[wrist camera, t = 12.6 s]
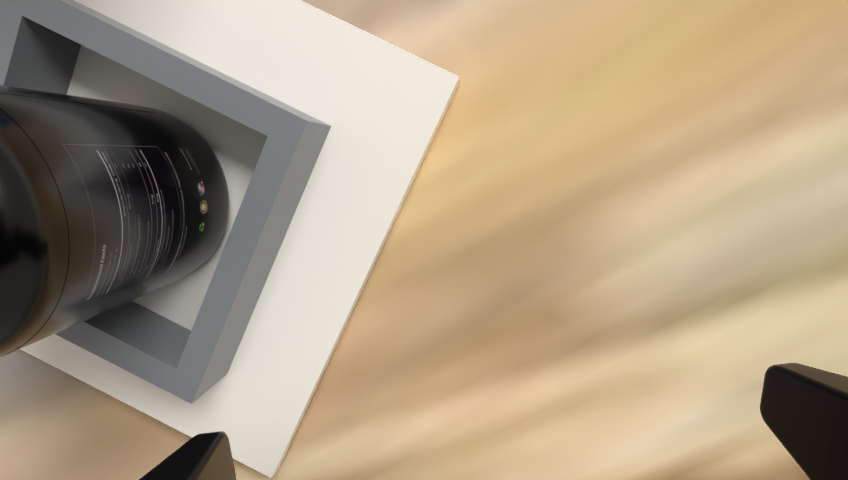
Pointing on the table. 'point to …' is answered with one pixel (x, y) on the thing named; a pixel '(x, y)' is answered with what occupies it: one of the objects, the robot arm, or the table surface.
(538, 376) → the table surface
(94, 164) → the supplement bottle
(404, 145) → the pocket plate
